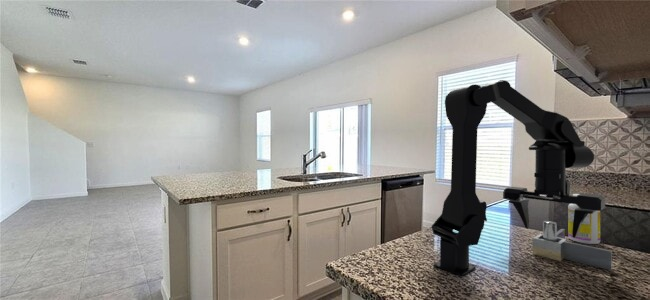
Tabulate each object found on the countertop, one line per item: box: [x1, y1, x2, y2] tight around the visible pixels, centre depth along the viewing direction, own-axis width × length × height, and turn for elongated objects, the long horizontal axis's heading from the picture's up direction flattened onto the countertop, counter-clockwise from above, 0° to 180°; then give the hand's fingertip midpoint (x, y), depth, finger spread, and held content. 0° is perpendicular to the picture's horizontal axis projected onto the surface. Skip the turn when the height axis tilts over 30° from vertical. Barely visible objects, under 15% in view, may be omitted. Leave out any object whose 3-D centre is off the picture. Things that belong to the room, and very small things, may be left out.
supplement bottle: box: [567, 193, 601, 245], centre depth 79 cm, size 7×7×13 cm
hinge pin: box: [542, 220, 558, 242], centre depth 69 cm, size 3×3×8 cm
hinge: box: [532, 228, 613, 271], centre depth 69 cm, size 15×13×4 cm
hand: (549, 232), depth 69 cm, fingers open, 9 cm apart
